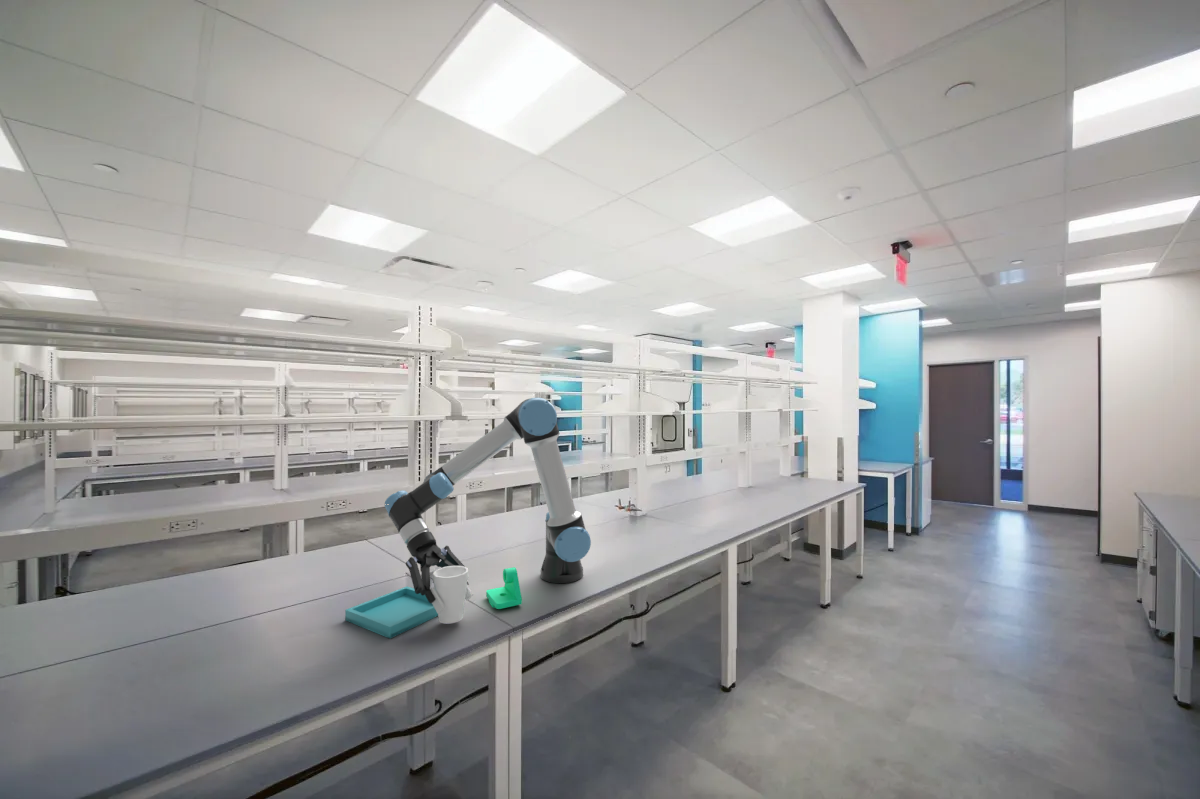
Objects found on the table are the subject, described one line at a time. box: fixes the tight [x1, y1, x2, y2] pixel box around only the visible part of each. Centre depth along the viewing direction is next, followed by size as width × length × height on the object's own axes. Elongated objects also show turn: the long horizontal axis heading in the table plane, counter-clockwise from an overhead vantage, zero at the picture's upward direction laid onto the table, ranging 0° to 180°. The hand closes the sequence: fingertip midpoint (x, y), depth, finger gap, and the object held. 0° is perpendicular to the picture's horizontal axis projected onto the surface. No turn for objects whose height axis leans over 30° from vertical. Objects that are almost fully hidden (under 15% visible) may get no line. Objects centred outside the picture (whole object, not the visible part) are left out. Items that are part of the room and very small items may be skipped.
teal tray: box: [344, 585, 438, 639], centre depth 135 cm, size 20×20×3 cm
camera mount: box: [485, 566, 523, 610], centre depth 144 cm, size 12×8×10 cm, turn 30°
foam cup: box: [432, 565, 469, 625], centre depth 130 cm, size 10×9×13 cm
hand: (456, 604), depth 129 cm, fingers closed on foam cup, 9 cm apart
